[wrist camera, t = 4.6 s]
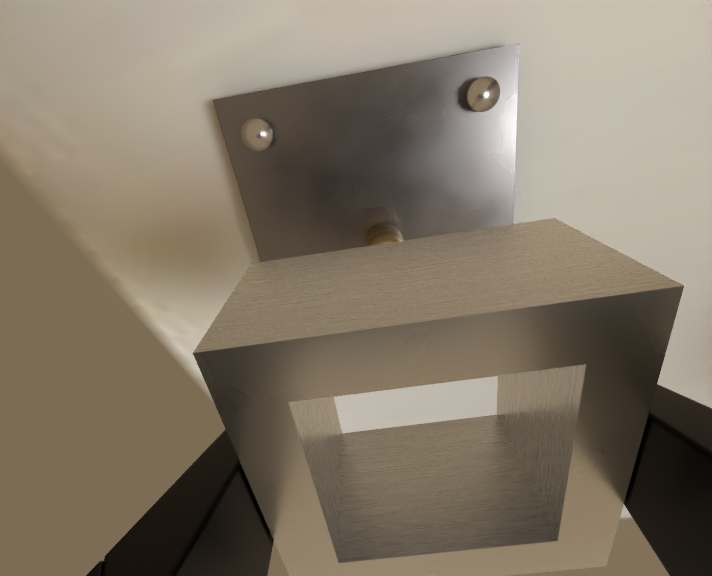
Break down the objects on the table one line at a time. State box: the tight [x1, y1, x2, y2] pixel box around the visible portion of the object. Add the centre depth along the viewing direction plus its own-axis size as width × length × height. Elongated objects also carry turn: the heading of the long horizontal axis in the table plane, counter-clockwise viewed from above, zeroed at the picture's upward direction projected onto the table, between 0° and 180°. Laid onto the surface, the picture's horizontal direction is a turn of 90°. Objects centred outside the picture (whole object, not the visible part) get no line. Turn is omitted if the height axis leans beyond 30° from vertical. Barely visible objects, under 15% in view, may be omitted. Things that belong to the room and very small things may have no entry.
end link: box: [193, 218, 684, 576], centre depth 7 cm, size 6×6×3 cm
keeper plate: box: [213, 43, 519, 262], centre depth 16 cm, size 12×14×4 cm
